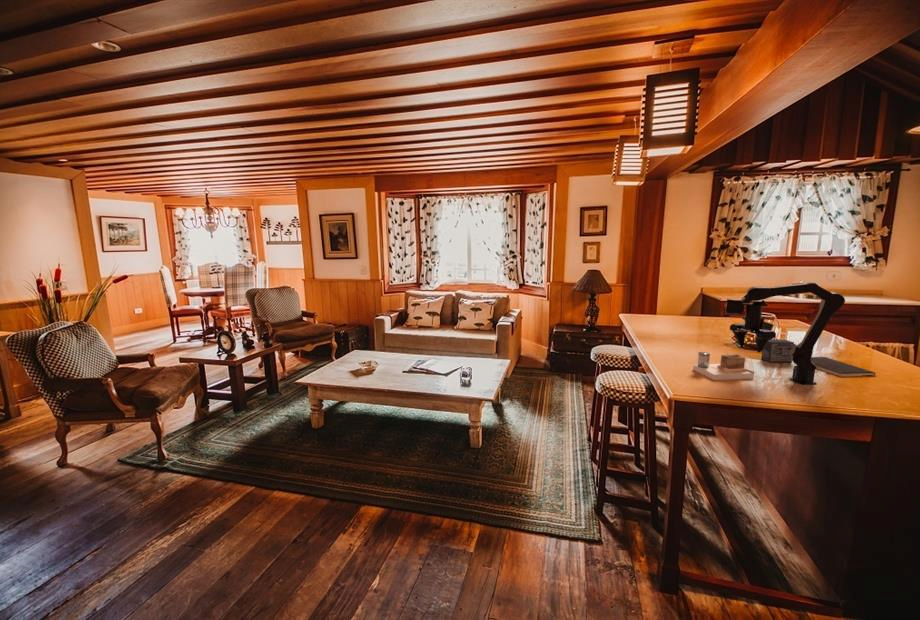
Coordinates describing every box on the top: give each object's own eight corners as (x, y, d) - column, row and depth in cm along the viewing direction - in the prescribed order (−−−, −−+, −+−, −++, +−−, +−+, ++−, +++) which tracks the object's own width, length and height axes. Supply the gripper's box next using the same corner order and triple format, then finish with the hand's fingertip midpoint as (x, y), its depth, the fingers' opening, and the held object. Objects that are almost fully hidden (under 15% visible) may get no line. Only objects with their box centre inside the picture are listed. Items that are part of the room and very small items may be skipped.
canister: (711, 367, 176) (712, 354, 175) (701, 368, 176) (703, 354, 175) (704, 364, 180) (705, 351, 179) (694, 365, 180) (696, 352, 179)
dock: (754, 378, 169) (755, 371, 168) (714, 380, 168) (715, 373, 167) (730, 368, 182) (730, 362, 182) (693, 369, 181) (693, 363, 181)
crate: (746, 371, 171) (748, 357, 170) (727, 371, 170) (728, 358, 169) (736, 366, 176) (737, 353, 175) (717, 367, 176) (718, 354, 175)
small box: (782, 359, 195) (785, 339, 193) (792, 363, 189) (795, 342, 187) (760, 358, 196) (762, 338, 194) (769, 362, 190) (771, 342, 188)
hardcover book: (839, 378, 169) (840, 373, 169) (793, 362, 192) (794, 357, 191) (874, 377, 169) (875, 372, 169) (825, 361, 192) (825, 356, 192)
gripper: (789, 318, 161) (785, 354, 164) (752, 311, 180) (749, 343, 182) (765, 319, 160) (761, 355, 163) (730, 312, 179) (727, 344, 181)
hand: (750, 349), depth 172 cm, fingers open, 9 cm apart
